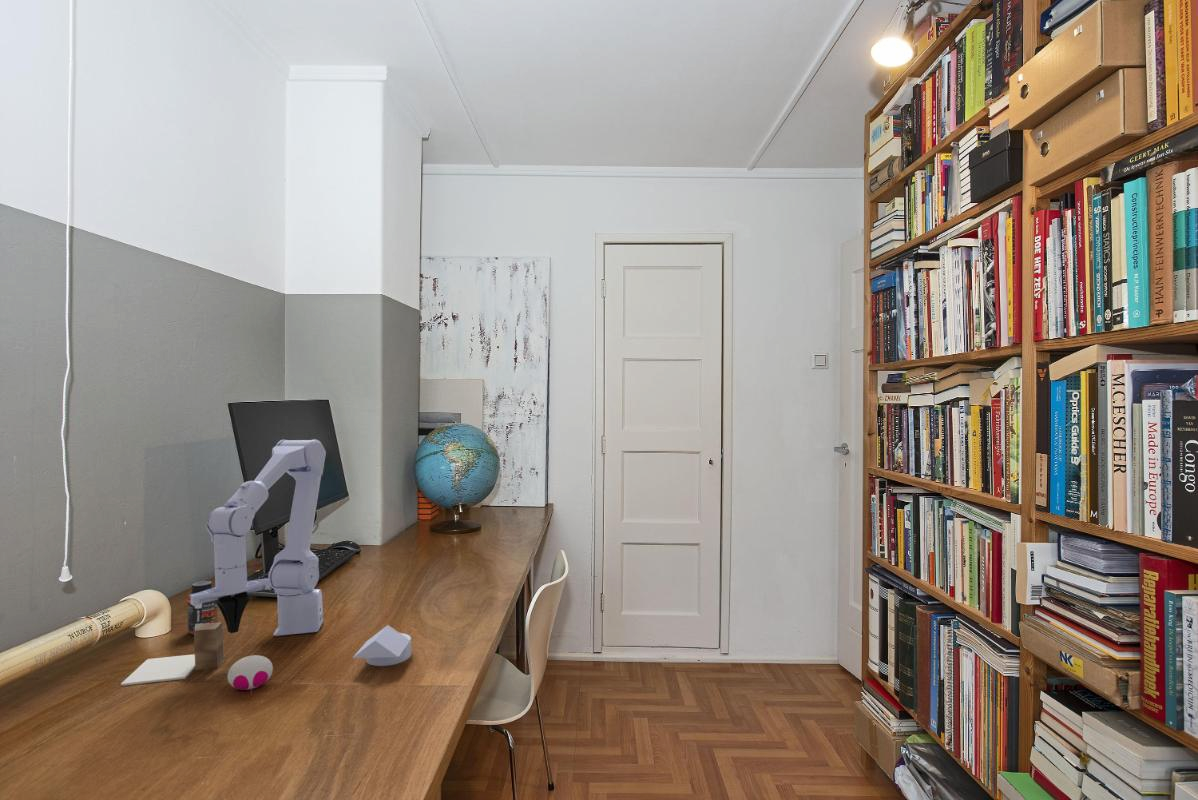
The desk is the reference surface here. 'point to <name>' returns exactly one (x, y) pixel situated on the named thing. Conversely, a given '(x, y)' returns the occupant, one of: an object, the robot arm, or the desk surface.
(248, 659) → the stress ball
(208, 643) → the walnut block
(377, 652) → the wedge on round base
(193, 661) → the felt mat
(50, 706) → the desk surface
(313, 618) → the robot arm
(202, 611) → the supplement bottle
